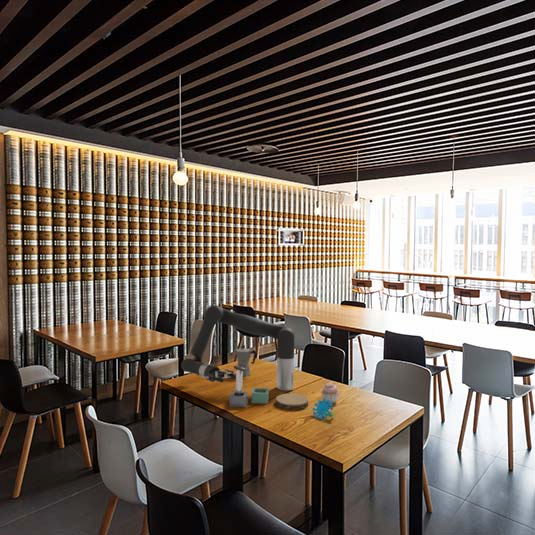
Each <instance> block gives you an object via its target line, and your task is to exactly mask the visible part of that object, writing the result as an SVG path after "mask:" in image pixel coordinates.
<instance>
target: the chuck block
mask: <svg viewBox="0 0 535 535" xmlns="http://www.w3.org/2000/svg"><path fill="white" fill-rule="evenodd" d="M248 403H249V391H242V396H236V390H232V391H231V393H230V395H229V402H228V404H229V405H228V406H229V408H244V407H246V408H247V406H248Z"/></svg>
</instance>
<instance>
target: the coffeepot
mask: <svg viewBox="0 0 535 535" xmlns="http://www.w3.org/2000/svg"><path fill="white" fill-rule="evenodd" d="M233 351H234V353H235V354H236V357H237V366H239V367H242V368H245V369H246V371H245V372H243V378H245V376H247V377H250V376H251V368H250V364H251V365H254V364H255V362H256V359H257V356H258V352H256V350H254V349H249V348H246V345H244V344H243V345H242V348H236V349H235V348H234V349H233ZM251 354H253V358H252V361H250V359H251ZM249 375H250V376H249Z"/></svg>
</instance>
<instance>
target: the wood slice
mask: <svg viewBox="0 0 535 535" xmlns="http://www.w3.org/2000/svg"><path fill="white" fill-rule="evenodd" d="M275 405H276V406H277V408H280V409H282V408H283V409H282V410H286V409H287V411H299V410H304V409H307V408H308V407H309V398H308V397H307V396H305V395H303V394H299V393H281V394H279V395H277V396H276V397H275Z"/></svg>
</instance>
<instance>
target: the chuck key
mask: <svg viewBox="0 0 535 535" xmlns="http://www.w3.org/2000/svg"><path fill="white" fill-rule="evenodd" d="M233 369H234V370H235V372H236V373H235V374H236V379H235V391H236V396H242V392H243V381H244V380H243V378H244V377H243V372H245V371H246V369H245V368H242V367H239V366H238V365H233Z"/></svg>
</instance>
